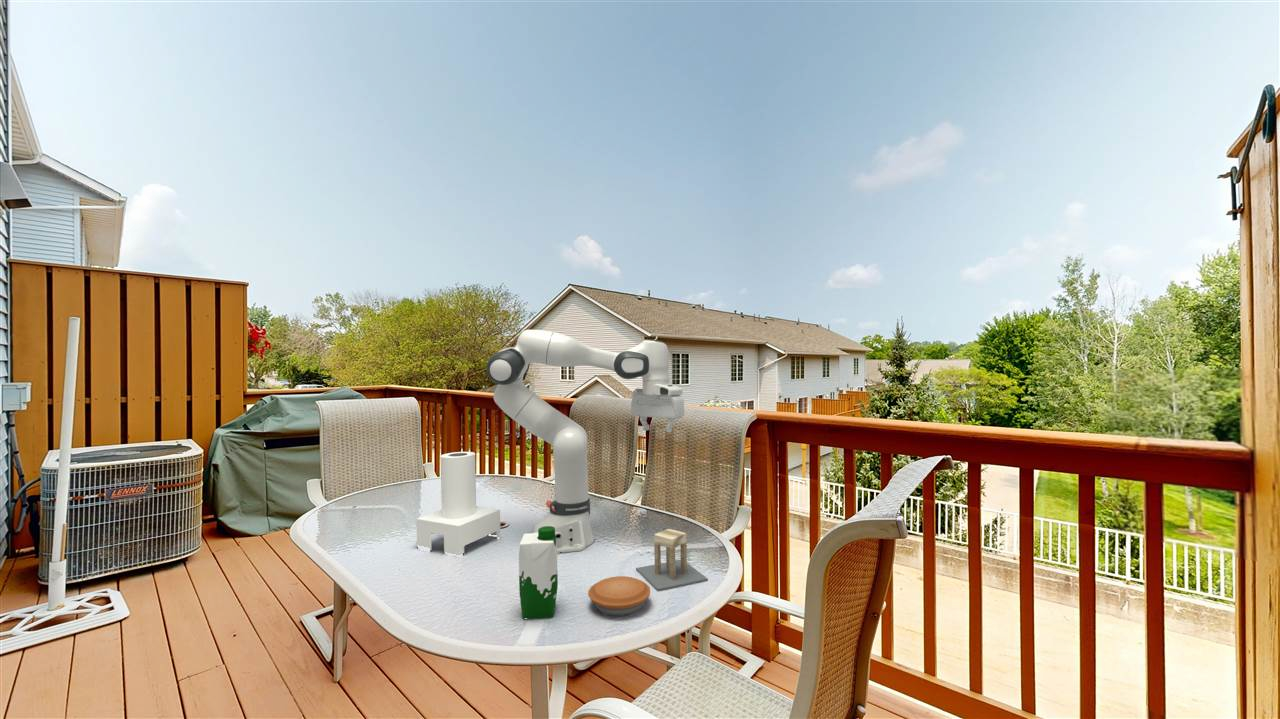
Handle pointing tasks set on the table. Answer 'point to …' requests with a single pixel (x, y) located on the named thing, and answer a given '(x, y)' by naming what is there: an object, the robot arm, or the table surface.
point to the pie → (619, 595)
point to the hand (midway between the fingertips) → (657, 431)
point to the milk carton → (538, 573)
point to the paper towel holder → (458, 507)
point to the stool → (670, 551)
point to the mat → (664, 580)
